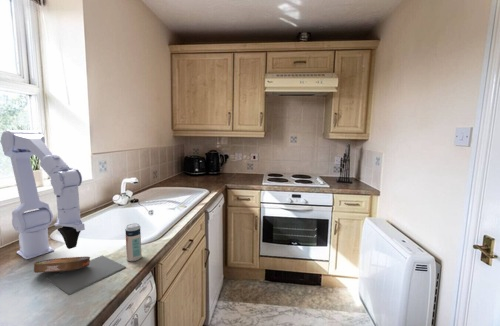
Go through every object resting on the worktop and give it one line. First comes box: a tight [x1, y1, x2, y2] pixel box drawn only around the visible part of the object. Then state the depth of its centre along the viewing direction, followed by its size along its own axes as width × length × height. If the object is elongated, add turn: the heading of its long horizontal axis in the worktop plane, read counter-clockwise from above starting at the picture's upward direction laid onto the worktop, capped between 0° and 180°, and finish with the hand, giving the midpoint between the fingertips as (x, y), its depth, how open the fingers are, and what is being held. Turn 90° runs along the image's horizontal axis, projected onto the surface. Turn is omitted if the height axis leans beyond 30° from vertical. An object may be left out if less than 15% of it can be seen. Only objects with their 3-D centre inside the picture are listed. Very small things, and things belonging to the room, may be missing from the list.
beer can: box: [124, 223, 142, 262], centre depth 84 cm, size 5×5×12 cm
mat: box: [46, 255, 127, 296], centre depth 75 cm, size 14×16×1 cm
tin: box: [33, 256, 91, 274], centre depth 75 cm, size 15×3×8 cm
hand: (71, 247), depth 79 cm, fingers closed
